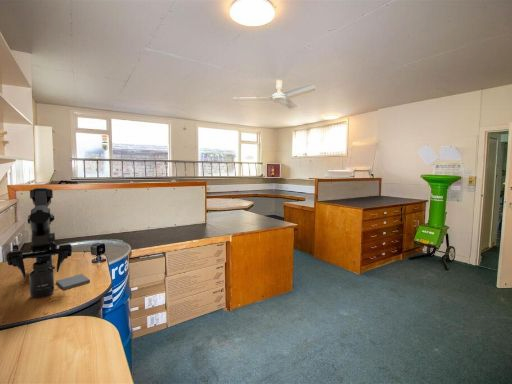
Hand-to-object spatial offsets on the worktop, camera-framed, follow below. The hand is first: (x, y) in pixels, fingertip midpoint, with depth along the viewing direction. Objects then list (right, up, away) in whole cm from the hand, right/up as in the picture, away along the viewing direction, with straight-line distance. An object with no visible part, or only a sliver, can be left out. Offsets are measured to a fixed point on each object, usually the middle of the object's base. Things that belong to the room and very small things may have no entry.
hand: (41, 274), depth 94 cm
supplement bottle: (0, -8, +1) cm, 8 cm away
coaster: (+4, -7, +11) cm, 13 cm away
